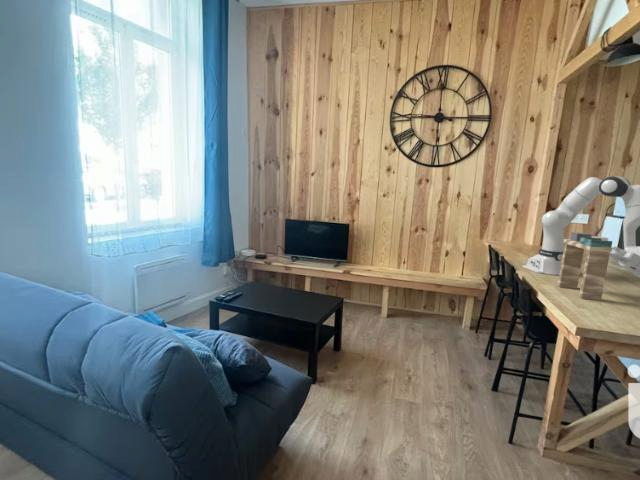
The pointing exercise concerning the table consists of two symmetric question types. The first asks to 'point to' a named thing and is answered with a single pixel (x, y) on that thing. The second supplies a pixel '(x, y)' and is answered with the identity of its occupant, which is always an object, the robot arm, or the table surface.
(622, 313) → the table surface
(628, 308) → the table surface
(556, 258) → the robot arm
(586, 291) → the brown and teal frame
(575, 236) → the beige and grey block
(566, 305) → the table surface
